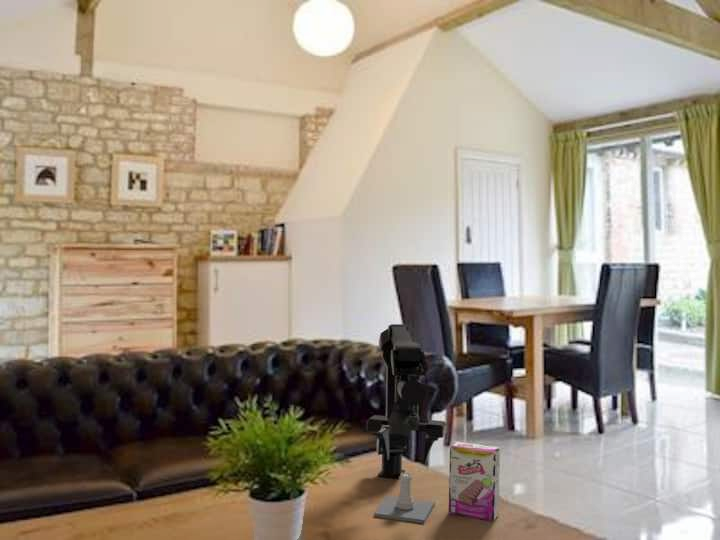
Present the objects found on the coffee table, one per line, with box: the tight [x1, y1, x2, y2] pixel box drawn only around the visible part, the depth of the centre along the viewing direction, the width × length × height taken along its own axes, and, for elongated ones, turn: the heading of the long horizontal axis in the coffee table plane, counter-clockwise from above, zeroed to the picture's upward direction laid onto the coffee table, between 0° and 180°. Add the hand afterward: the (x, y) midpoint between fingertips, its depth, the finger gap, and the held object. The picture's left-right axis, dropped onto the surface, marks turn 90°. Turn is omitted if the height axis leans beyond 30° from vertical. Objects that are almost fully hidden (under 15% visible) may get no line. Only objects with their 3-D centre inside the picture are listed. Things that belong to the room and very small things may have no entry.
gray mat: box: [373, 495, 435, 524], centre depth 151 cm, size 12×12×1 cm
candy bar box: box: [448, 440, 501, 522], centre depth 149 cm, size 11×5×16 cm, turn 65°
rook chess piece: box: [396, 471, 414, 510], centre depth 151 cm, size 4×4×8 cm
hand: (405, 461), depth 151 cm, fingers open, 9 cm apart
